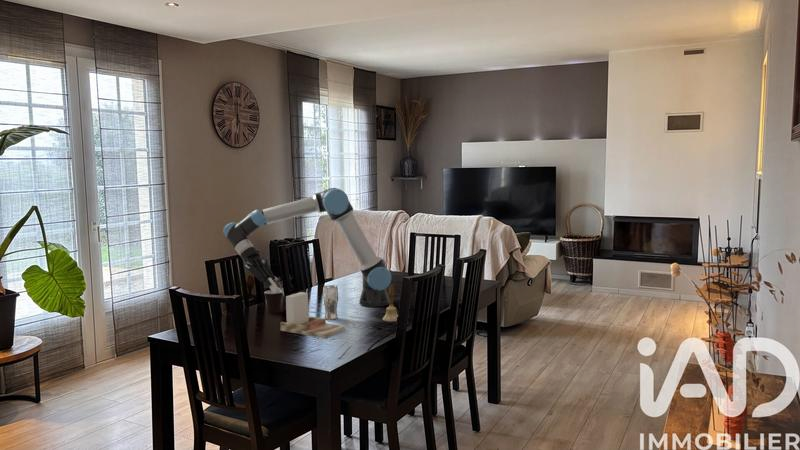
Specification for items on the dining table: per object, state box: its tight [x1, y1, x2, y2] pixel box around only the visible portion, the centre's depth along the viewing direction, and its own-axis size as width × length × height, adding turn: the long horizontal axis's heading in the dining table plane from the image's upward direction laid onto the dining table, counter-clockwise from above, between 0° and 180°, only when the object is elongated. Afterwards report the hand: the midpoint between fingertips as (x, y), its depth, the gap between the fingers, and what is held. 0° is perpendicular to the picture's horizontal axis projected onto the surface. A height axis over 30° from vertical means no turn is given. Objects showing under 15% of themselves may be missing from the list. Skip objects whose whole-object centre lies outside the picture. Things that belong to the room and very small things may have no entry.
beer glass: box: [322, 284, 339, 321], centre depth 276 cm, size 7×7×15 cm
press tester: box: [279, 315, 346, 339], centre depth 258 cm, size 24×14×4 cm, turn 60°
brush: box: [381, 284, 399, 323], centre depth 273 cm, size 8×8×16 cm
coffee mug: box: [264, 289, 283, 315], centre depth 291 cm, size 12×9×10 cm
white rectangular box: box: [285, 291, 310, 325], centre depth 261 cm, size 5×10×13 cm, turn 150°
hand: (276, 290), depth 266 cm, fingers closed
